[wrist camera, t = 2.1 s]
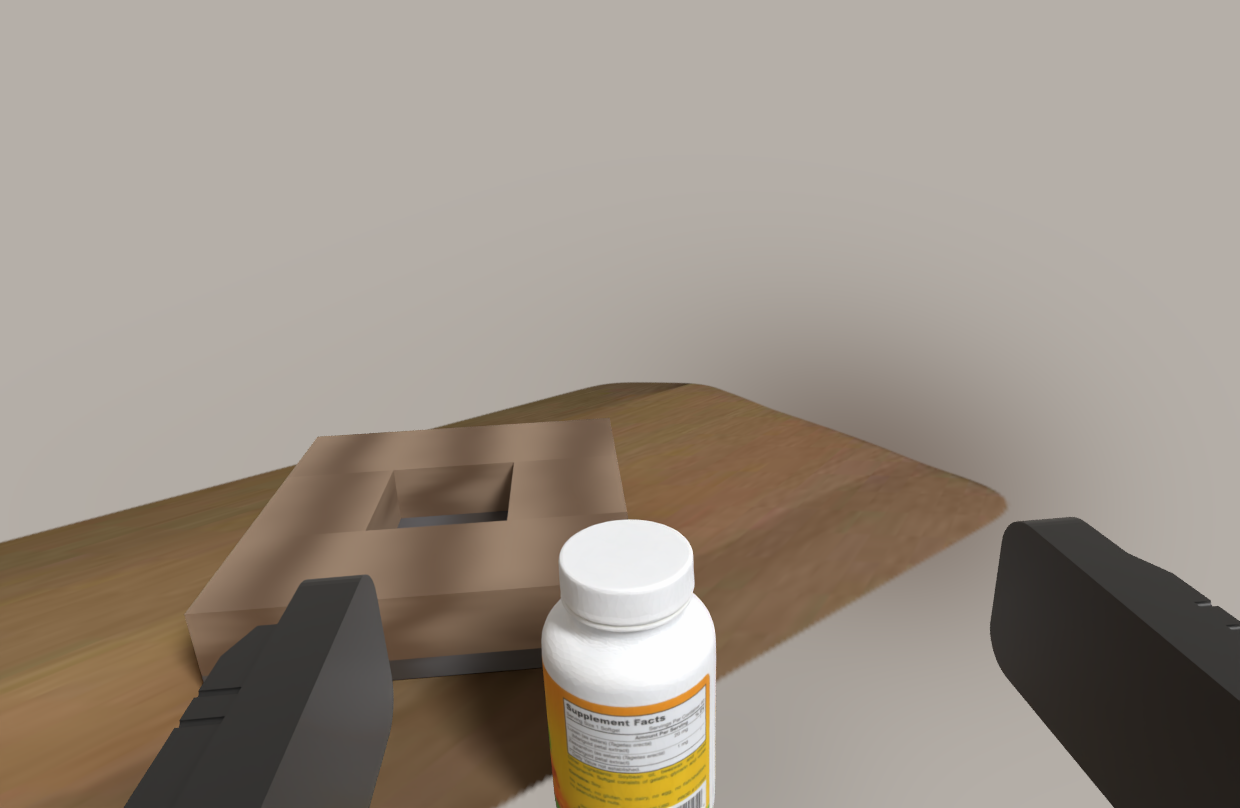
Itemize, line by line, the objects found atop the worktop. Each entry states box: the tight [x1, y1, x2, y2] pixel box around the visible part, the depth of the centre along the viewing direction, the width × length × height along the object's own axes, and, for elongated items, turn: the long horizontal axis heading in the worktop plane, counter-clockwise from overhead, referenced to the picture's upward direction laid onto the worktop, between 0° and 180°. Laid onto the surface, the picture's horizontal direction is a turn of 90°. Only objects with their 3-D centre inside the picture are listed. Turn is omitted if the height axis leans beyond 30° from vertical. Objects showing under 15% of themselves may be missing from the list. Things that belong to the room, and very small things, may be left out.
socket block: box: [184, 418, 628, 682], centre depth 39 cm, size 18×18×4 cm
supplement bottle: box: [541, 520, 716, 808], centre depth 24 cm, size 5×5×10 cm
